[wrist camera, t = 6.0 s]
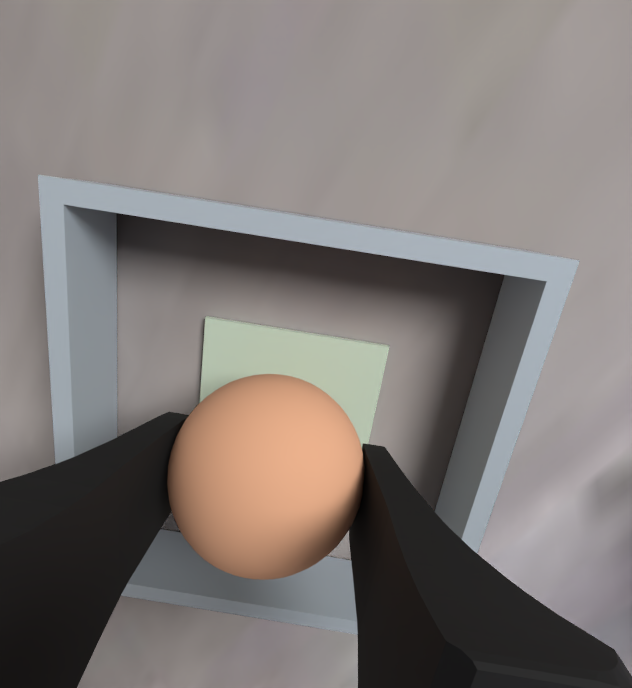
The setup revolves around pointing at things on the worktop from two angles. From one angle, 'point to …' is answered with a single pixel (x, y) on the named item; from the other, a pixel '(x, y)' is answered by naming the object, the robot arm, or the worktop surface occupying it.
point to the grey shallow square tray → (284, 373)
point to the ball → (265, 476)
